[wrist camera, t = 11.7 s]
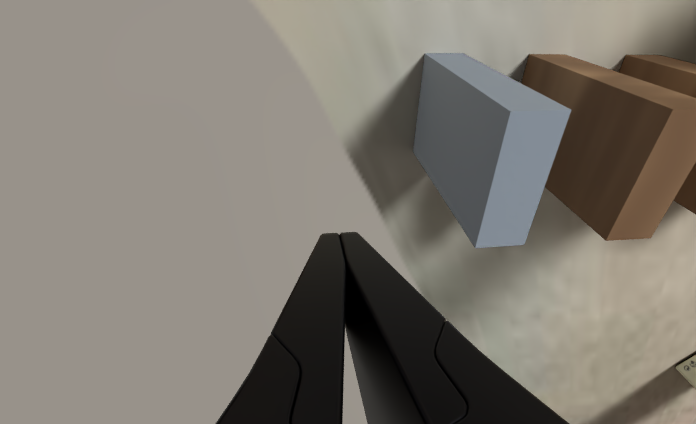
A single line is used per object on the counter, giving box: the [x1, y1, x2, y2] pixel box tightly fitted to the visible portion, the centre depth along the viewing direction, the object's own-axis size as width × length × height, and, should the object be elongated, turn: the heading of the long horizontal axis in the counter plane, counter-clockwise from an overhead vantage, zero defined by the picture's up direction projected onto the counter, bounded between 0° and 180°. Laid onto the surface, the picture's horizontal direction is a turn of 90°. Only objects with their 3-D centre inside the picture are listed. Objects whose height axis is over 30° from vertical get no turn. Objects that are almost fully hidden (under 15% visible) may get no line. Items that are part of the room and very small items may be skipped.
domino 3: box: [619, 55, 696, 214], centre depth 16 cm, size 2×5×8 cm, turn 179°
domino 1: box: [413, 53, 571, 248], centre depth 15 cm, size 2×5×8 cm, turn 179°
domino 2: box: [521, 54, 696, 241], centre depth 16 cm, size 2×5×8 cm, turn 179°
